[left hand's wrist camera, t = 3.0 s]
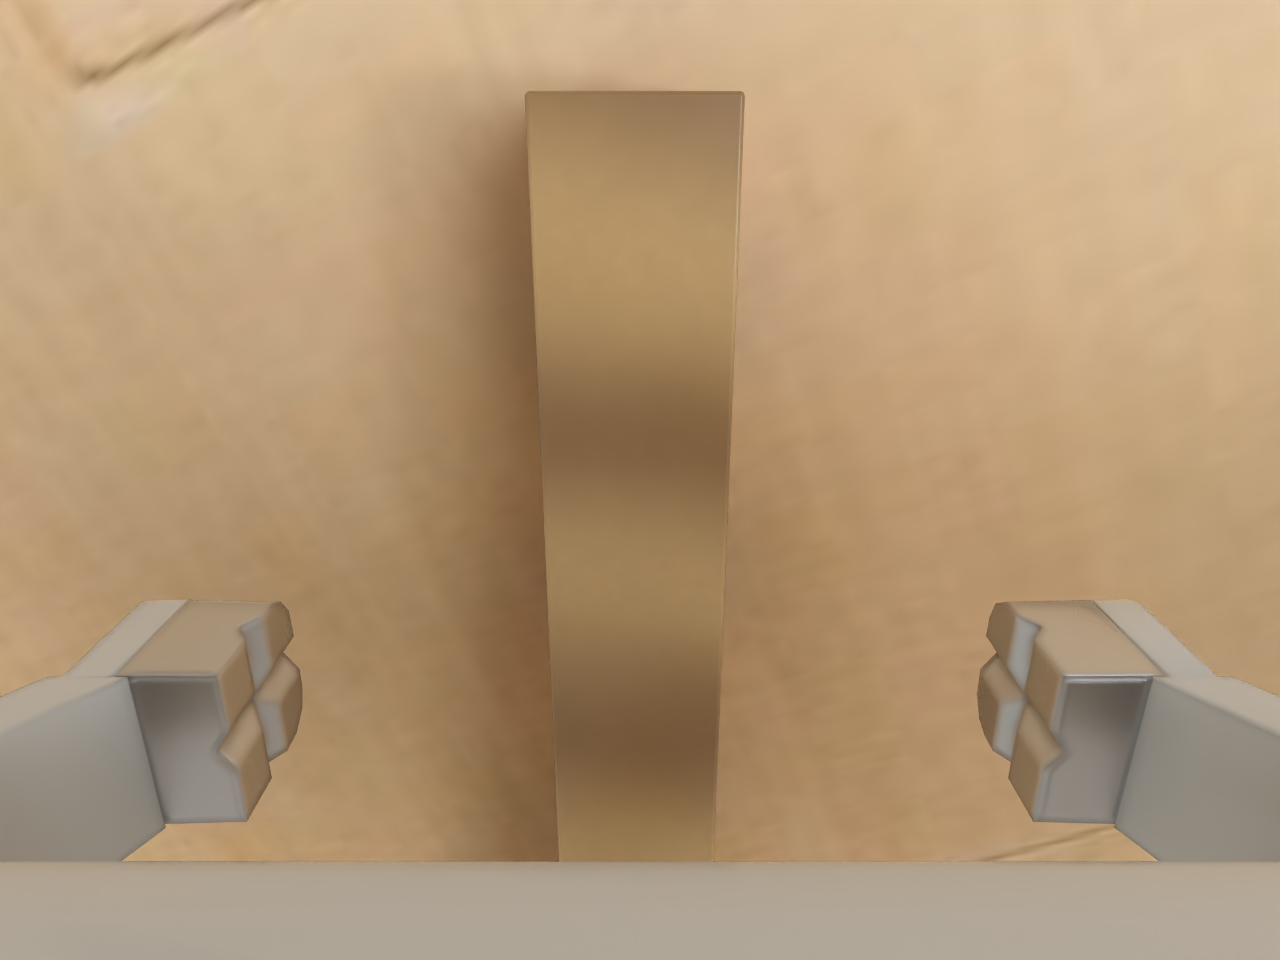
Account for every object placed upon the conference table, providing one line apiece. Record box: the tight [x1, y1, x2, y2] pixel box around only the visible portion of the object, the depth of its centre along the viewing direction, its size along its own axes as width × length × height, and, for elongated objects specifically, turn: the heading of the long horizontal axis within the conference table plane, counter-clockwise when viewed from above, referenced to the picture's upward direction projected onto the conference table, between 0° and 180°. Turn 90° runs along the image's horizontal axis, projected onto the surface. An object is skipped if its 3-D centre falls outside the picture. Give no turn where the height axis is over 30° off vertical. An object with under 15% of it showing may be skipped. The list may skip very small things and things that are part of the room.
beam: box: [525, 91, 745, 861], centre depth 30 cm, size 50×4×6 cm, turn 0°
